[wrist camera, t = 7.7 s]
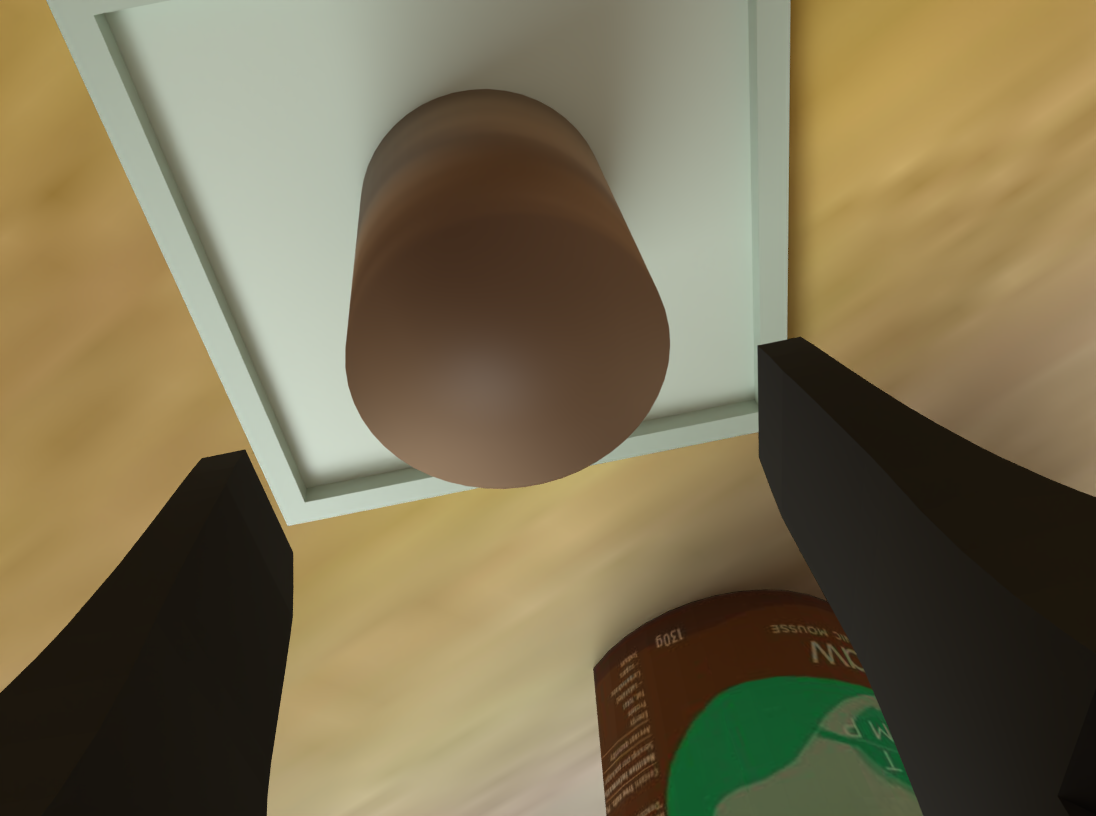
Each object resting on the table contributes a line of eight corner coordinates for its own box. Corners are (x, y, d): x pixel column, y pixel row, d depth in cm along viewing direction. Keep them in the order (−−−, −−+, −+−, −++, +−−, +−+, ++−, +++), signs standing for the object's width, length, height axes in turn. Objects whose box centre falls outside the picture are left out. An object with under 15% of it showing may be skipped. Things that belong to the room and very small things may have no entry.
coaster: (291, 499, 22) (287, 526, 21) (56, -30, 15) (37, -19, 14) (773, 403, 22) (786, 426, 21) (773, -169, 15) (792, -164, 14)
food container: (987, 612, 28) (1216, 957, 20) (867, 727, 31) (1025, 1066, 23) (651, 515, 24) (773, 904, 16) (549, 659, 27) (609, 1047, 19)
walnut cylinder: (421, 349, 19) (425, 524, 15) (315, 145, 17) (283, 287, 12) (632, 272, 19) (702, 429, 15) (561, 49, 16) (620, 160, 12)
